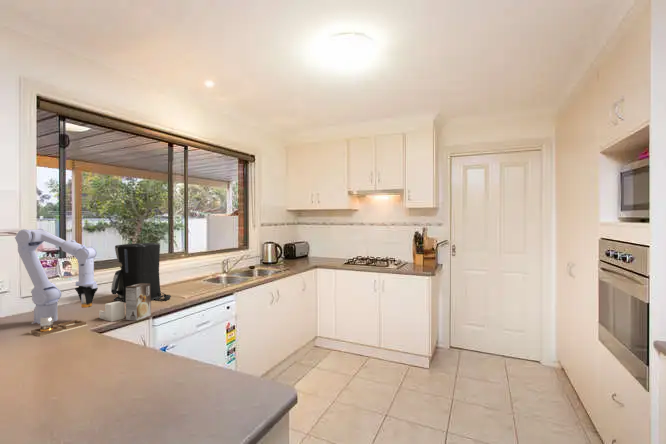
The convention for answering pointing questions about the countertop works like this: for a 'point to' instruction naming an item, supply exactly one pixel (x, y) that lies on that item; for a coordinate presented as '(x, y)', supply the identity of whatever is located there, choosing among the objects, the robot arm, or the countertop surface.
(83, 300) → the sleeve
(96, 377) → the countertop surface
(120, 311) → the feeder
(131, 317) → the coffee box
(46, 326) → the sleeve
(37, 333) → the seat board
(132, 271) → the coffee maker
